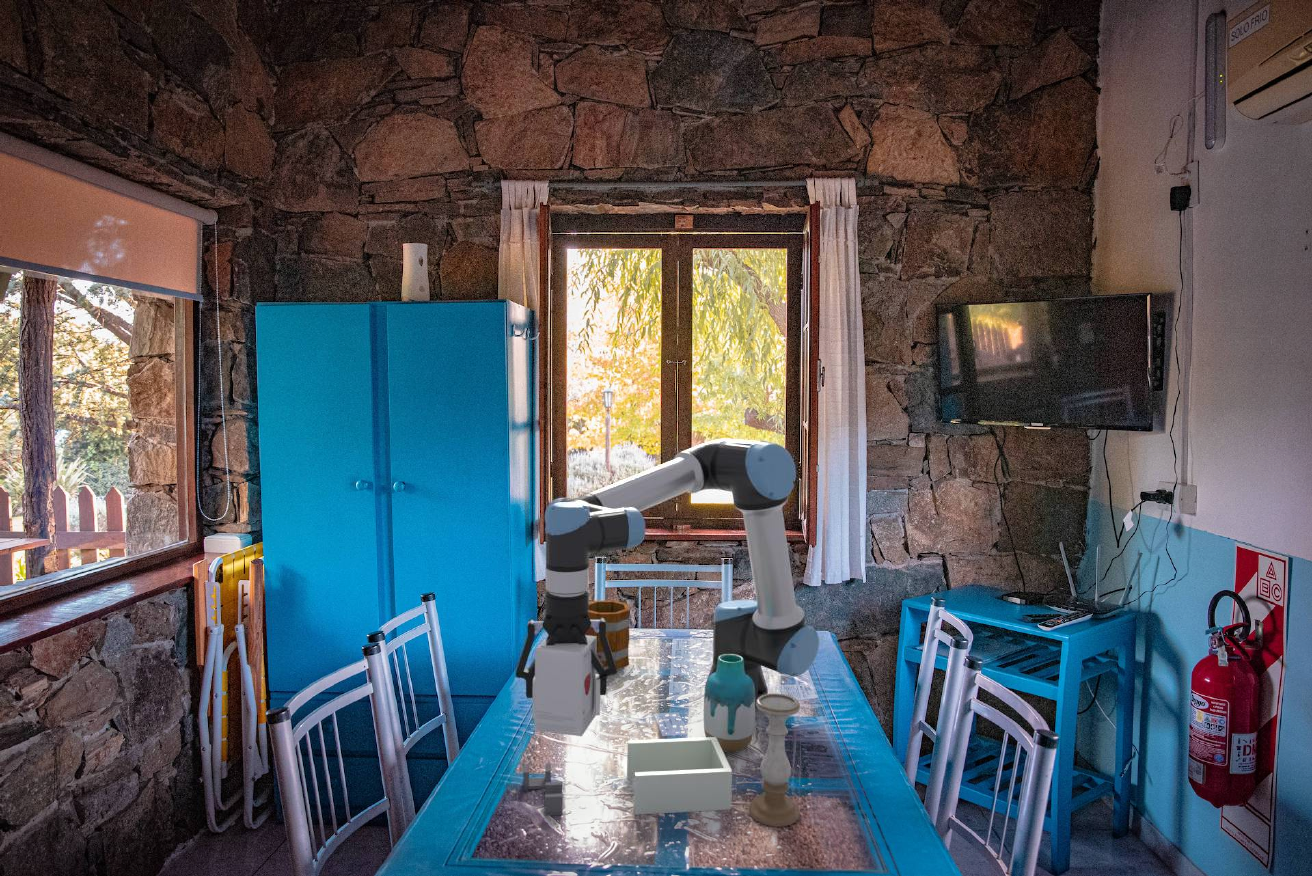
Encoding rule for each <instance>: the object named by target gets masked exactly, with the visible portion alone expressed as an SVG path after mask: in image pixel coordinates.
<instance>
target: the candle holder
mask: <svg viewBox="0 0 1312 876" xmlns="http://www.w3.org/2000/svg"><path fill="white" fill-rule="evenodd" d="M756 706H757V707H756V708H757V709H758V710H759V711H760V712H763V713H764V714H765V716H766V718H768V720H769V724H768V726H767V727H765V728H766V729H765V732H766V733H767V734H768V742H767V744H768V746H767V749H766V751H765V754H764V756H763V759H762V760H761V763H760V766H759V772H760V775H761V778H762V779H763V780H762V781H761V784H760V785H761V788H762V789H763V791H764V792H763V793H761V794H759V795H757V796H756V797H755V798H753V799H752V800H751V801H750V803H749V807H748V809H749V814H750V816H751V817H752V818H753V820H755V821H756V822H758V823H760V824H762V825H765V826H768V827H776V828H777V827H778V828H783V827H784V828H785V827H788V825H789V826H791V825H792V826H793V825H794V824H795V823H797V821H799V818H800V807H799V806H798V805H797V803H795V802H794V801H793V800H792V799H791V798H790V797H789V796H788V795H786V793H787V792H788V791H789V789H790V786H789V784H788V781H789V779H790V778H791V775H792V766H791V763H790V761H789V758H788V756H787V751H786V747H785V745H786V744H785V740H786V739H785V738H786V735H788V733H789V730H788V728H787V726H786V721H787V720H788V719H789V718H790V716H793V715H796V714H797V713H799V712H800V710H801V704H800V702H799V701H798V699H797V698H795V697H793V696H791V695H787V694H783V693H768V694H765V695H762V696H760V697H758V699H757V701H756ZM793 823H794V824H793Z"/></svg>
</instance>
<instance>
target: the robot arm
mask: <svg viewBox="0 0 1312 876" xmlns="http://www.w3.org/2000/svg"><path fill="white" fill-rule="evenodd" d="M796 478H797V470H796V465H795V462H794V459H793V457H792V455H791V453H790V452H789V451H788V450H787V449H786V448H784V447H783V446H782V445H780V444H778V443H772V442H769V441H768V440H767V441H766V440H749V439H737V438H729V437H728V438H727V437H726V438H718V439H714V440H710V441H707V442H704V443H700V444H698V445H696V446H693V447H690V448H688V449H685V450H683V451H680V452H678V453H676V454H675V455H674V457H673V459H672V460H669V461H666V462H665V463H662V464H659V465H657V466H654V467H652V468H650V469H647V470H644V471H642V472H640V473H636V474H634V475H632V476H629V477H626V478H624V479H622V480H619V481H616V482H614V483H612V484H609V485H606V486H604V487H601V488H599V489H596V490H594V491H592V492H589V493H586V494H583V495H580V496H576V497H575V498H570V497H558V498H556V499H553V500H552V501H550V503H549V504H548V506H547V507H546V509H545V512H544V523H545V526H544V527H545V528H544V531H545V590H546V591H547V592H546V593H545V615H544V618H543V620H534V619H528V621H527V628H526V629H527V630H526V631H527V635H526V639H525V640H524V645H523V648H522V651H521V653H520V655H519V656H520V657H519V659H518V662H517V666H516V669H515V677H516V678H517V679H524V680H525V696H526V698H527V699H532V712H531V713H532V716H531V717H532V719H534V703H535V658H534V659H533V661H532V663H531V664H530V666H529V667H528V669H526V666H527V664H528V663H527V662H528V661H529V660H528V659H529V656H530V653H531V650H532V647H533V644H534V640H535V637H536V636H535V635H538V634H539V633H540V630H541V629H544V631H545V632H546V633H547V637H546V638H547V639H546V638H545V639H546V645H547V646H549V645H555V643H558V644H563V643H579V644H584V645H588V643H587V637H586V636H585V634H586V632H587V631H588V629H589V628H590V627H593V628H594V631H595V632H597V633H599V638H600V641H601V645H602V648H603V651H604V654H605V657H606V661H607V664H608V666H606V667H604V666H603V664H602V662H601V661H600V659H599V657H598V656H597V654H596V653H595V651H593V650H592V649H591V663H592V665H593V666H594V668H595V669H596V674H595V715H596V716H601V696H606V695H607V678H608V677H609V676H612V675H613V676H615V675H616V674H617V672H618V670H617V669H616V665H615V662H614V658H613V655H612V652H611V649H610V646H609V642H608V639H607V636H606V622H605V619H604V618H600V619H599V620H591V619H590V618H589V615H588V603H589V592H588V591H587V590H589V588H590V587H589V586H590V585H589V583H590V579H589V577H590V555H594V554H596V555H597V554H603V553H608V552H615V551H622V550H623V551H627V549H631V548H635V547H637V546H640V544H642V542H643V541H644V539H645V536H646V522H645V518H644V516H643V514H642V513H641V512H642V511H645V510H647V509H649V508H652V507H654V506H657V505H659V504H661V503H664V502H666V501H669V500H670V499H673V498H675V497H677V496H680V495H682V494H684V493H688V494H696V493H698V492H701V491H705V490H719V491H720V490H721V491H725V492H731V493H732V497H733V498H732V499H733V505H734V508H735V509H736V510H738V511H740V512H741V513H742V518H743V522H744V529H745V536H746V543H747V549H748V555H749V561H750V569H751V575H752V582H753V586H754V587H753V588H754V593H755V600H754V599H753V600H752V599H735V600H728V601H723V602H721V603H718V605H716V607H715V609H714V617H713V622H712V623H713V626H712V627H713V630H712V631H713V632H712V633H713V634H712V635H713V637H712V638H713V639H712V641H713V642H712V643H713V644H712V653H713V654H712V665H711V668H710V670H709V673H708V676H707V678H706V681H705V685H704V687H705V686H706V682H707V679H708V677H709V676H710V675H711V674H713V673H715V672H716V670H717V663H718V657H719V656H721V655H723V654H735V655H739V656H741V657H743V659H744V672H745V674H746V675H748V676H749V677H750V678H751V679H752V681H753V683H754V687H755V708H757V706H756V701H757V699H758V697H760V696H762V695H765V694H769V693H768V692H769V690H768V685H767V682H766V679H765V675H764V672H763V668H762V667H764V668H767V669H769V670H772V671H774V672H776V673H778V674H780V675H786V676H789V677H799V676H802V675H804V674H805V673H806V672H807V671H808V670H809V669H810V668H811V666H812V665H813V664H814V661H815V659H816V657H817V655H818V652H819V647H820V638H819V633H818V632H817V630H816V629H814V627H813V626H811V625H807V623H806V618H805V617H806V616H805V612H804V610H803V608H802V607H801V606H799V605H797V604H796V603H797V602H796V597H795V596H796V595H795V590H794V581H793V576H792V567H791V563H790V562H791V561H790V554H789V549H788V541H787V534H786V533H787V532H786V526H785V519H784V513H783V506H784V505H785V504H787V502H788V501H789V500H788V499H789V498H788V497H789V495H790V494H791V492H792V491H793V490H794V487H795V484H794V482H796Z"/></svg>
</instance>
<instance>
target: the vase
mask: <svg viewBox="0 0 1312 876" xmlns="http://www.w3.org/2000/svg"><path fill="white" fill-rule="evenodd" d="M708 676H709V675H708ZM708 676H707V678H708V679H707V678H706V681H707V682H706V681H705V684H706V686H705V685H704V696H703V728H704V734H705V736H704V737H716V738H717V740H718V742H719V744H720V746H721V749H722V751H723V753H729V754H730V753H731V754H732V753H737V752H742V751H744V750H745V749H747V747H749V746H750V744H751V742H752V739H753V737H754V732H755V721H756V707H755V687H754V683H753V681H752V679H751V678H750V677H749V676H748V675H746V674H745V672H744V659H743V657H741V656H739V655H735V654H723V655H721V656H719V657H718V663H717V670H716V672H715V673H713V674H711V675H710V676H709V677H708Z"/></svg>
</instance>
